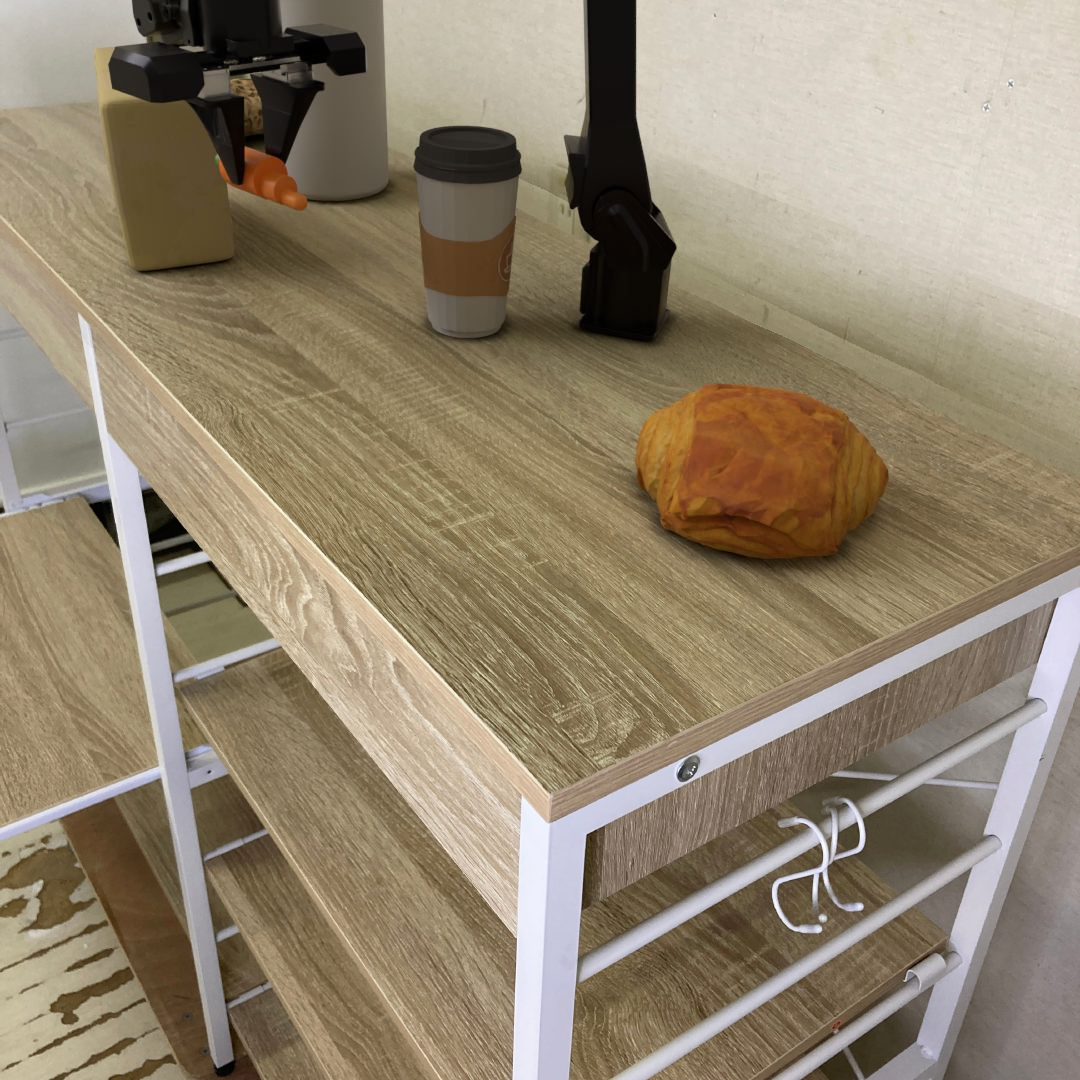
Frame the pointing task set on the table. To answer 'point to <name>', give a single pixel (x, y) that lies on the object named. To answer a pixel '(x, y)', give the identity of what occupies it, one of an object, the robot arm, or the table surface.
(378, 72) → the cylinder vase
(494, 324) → the coffee cup
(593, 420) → the table surface
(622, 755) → the table surface
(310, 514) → the table surface
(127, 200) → the cheese
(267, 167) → the carrot
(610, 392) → the table surface
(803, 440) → the croissant
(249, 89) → the sponge
